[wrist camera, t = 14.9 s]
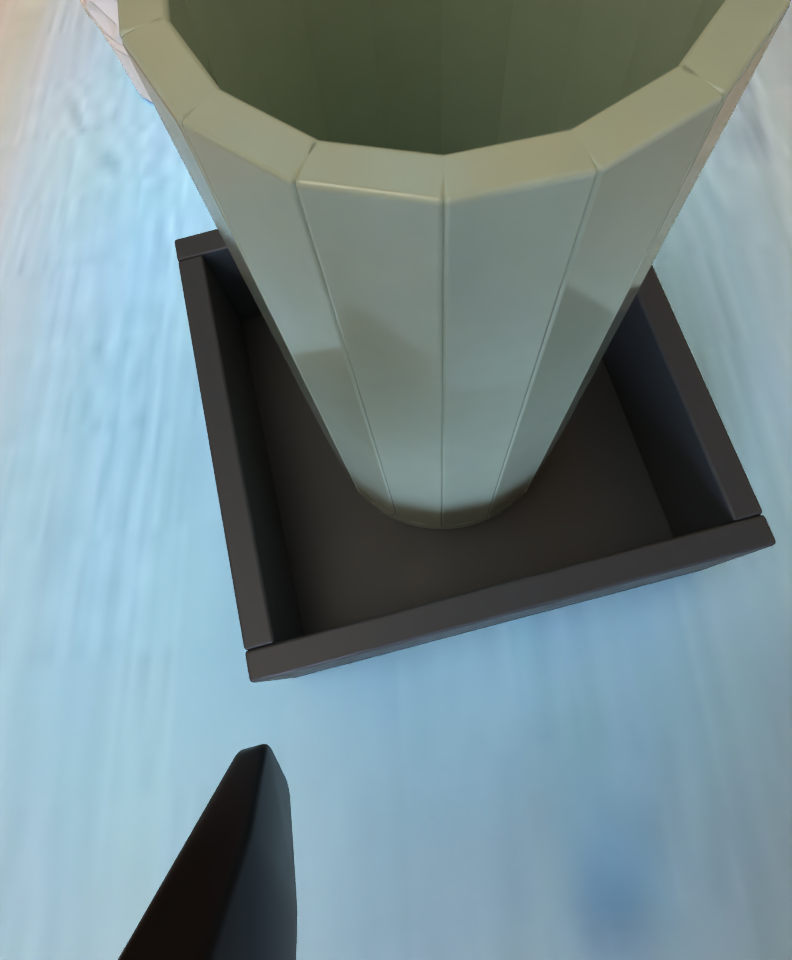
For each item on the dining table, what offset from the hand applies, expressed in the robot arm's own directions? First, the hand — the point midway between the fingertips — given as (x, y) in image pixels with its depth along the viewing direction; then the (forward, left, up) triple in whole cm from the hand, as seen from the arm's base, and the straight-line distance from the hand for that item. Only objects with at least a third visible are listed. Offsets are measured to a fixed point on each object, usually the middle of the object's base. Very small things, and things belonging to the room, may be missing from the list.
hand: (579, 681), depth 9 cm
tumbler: (+3, +6, -8) cm, 11 cm away
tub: (+3, +6, -8) cm, 11 cm away
